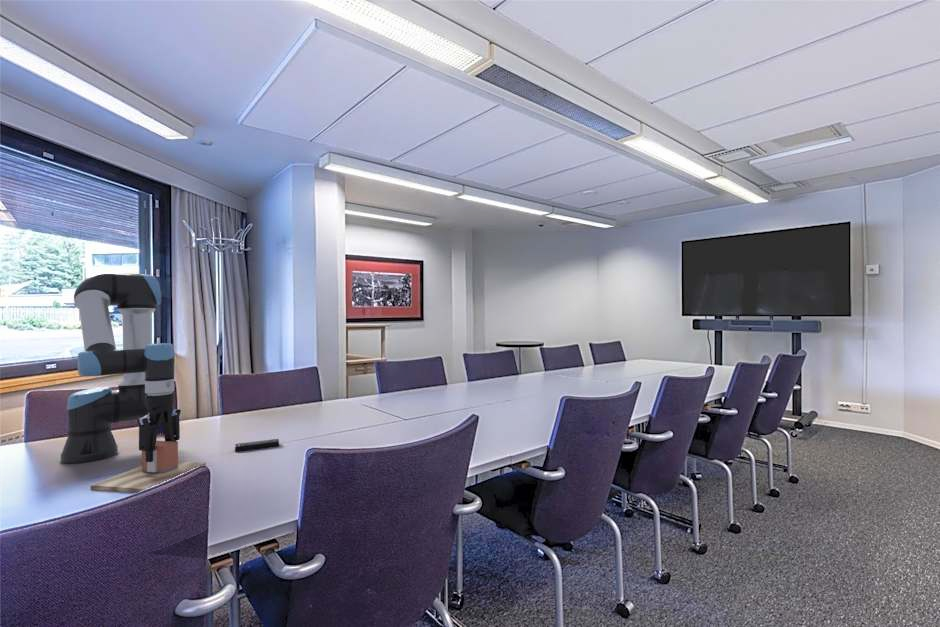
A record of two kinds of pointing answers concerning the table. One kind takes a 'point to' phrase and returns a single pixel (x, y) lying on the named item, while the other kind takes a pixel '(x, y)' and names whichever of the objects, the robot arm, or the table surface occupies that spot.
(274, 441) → the multiport hub
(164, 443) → the block
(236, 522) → the table surface
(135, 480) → the board
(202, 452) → the table surface
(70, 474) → the table surface
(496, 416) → the table surface
